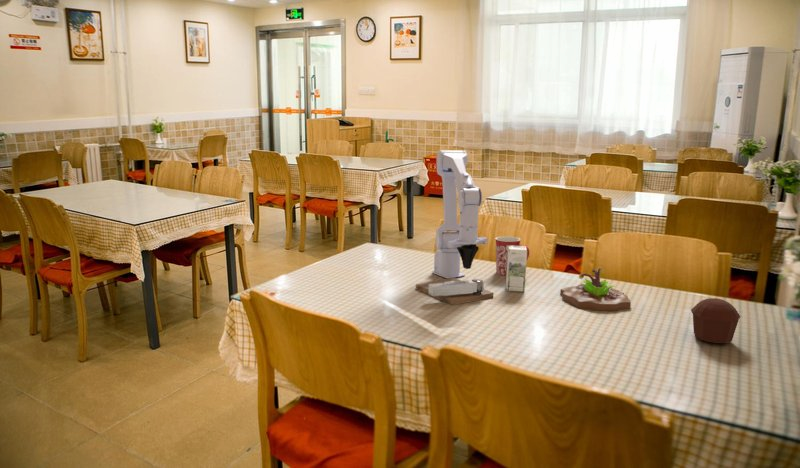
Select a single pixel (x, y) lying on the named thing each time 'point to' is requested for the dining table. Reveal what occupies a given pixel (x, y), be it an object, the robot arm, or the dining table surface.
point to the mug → (505, 252)
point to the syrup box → (516, 268)
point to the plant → (595, 295)
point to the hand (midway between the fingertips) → (466, 268)
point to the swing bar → (456, 287)
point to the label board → (456, 298)
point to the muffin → (715, 320)
